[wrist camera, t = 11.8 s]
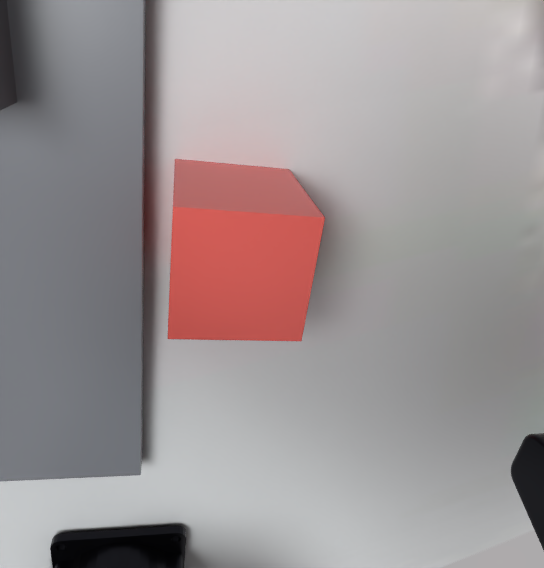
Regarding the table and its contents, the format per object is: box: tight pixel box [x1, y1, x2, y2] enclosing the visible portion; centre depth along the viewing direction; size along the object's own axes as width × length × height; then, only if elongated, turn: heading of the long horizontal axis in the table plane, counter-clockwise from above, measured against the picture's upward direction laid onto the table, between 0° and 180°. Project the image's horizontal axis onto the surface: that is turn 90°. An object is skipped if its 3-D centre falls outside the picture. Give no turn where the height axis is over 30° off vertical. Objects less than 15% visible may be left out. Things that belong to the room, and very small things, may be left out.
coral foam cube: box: [168, 159, 325, 341], centre depth 16 cm, size 4×4×5 cm
